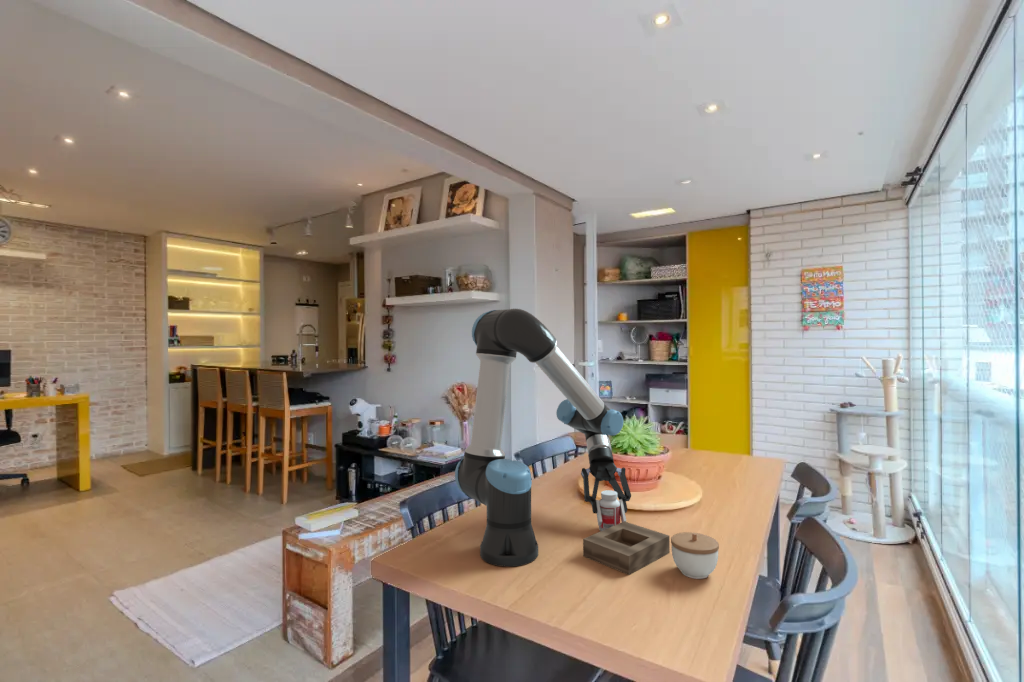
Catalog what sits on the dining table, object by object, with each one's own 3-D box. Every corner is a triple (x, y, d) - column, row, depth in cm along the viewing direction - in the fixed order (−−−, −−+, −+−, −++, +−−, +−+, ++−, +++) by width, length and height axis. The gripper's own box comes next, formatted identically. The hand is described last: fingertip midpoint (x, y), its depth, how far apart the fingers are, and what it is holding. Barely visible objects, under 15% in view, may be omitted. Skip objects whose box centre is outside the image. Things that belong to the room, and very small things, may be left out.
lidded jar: (714, 588, 113) (713, 546, 113) (665, 576, 119) (665, 536, 119) (722, 569, 122) (722, 530, 122) (677, 559, 128) (677, 522, 128)
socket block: (629, 575, 120) (628, 556, 120) (583, 556, 130) (583, 538, 130) (669, 552, 132) (669, 535, 132) (624, 537, 142) (624, 521, 142)
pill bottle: (613, 525, 151) (613, 488, 151) (624, 532, 146) (624, 494, 145) (594, 528, 149) (594, 490, 149) (605, 535, 143) (605, 496, 143)
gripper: (627, 458, 163) (643, 528, 147) (568, 459, 162) (577, 529, 146) (632, 445, 158) (648, 516, 141) (570, 446, 157) (580, 518, 141)
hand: (612, 523), depth 144 cm, fingers closed on pill bottle, 6 cm apart
